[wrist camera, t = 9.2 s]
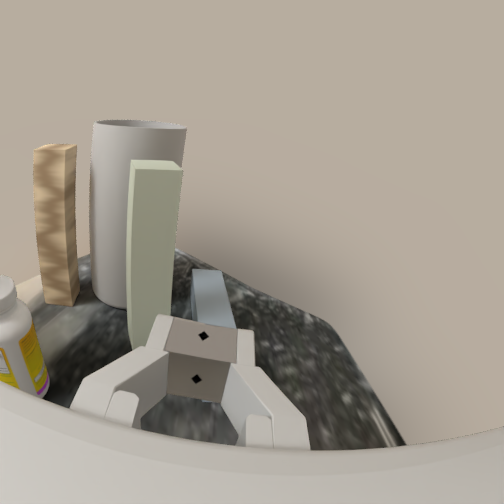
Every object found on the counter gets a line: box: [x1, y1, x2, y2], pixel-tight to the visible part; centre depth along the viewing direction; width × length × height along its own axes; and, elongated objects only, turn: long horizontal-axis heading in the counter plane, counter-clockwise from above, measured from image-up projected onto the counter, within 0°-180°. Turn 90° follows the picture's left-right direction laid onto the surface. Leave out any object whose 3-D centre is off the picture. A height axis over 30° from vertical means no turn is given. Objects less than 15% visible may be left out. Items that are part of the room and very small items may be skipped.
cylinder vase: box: [89, 120, 187, 309], centre depth 43 cm, size 12×12×25 cm
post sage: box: [126, 160, 183, 350], centre depth 34 cm, size 4×4×22 cm
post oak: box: [33, 144, 80, 307], centre depth 38 cm, size 4×4×22 cm
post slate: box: [190, 269, 236, 402], centre depth 41 cm, size 4×4×22 cm
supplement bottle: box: [0, 275, 50, 398], centre depth 24 cm, size 7×7×13 cm
